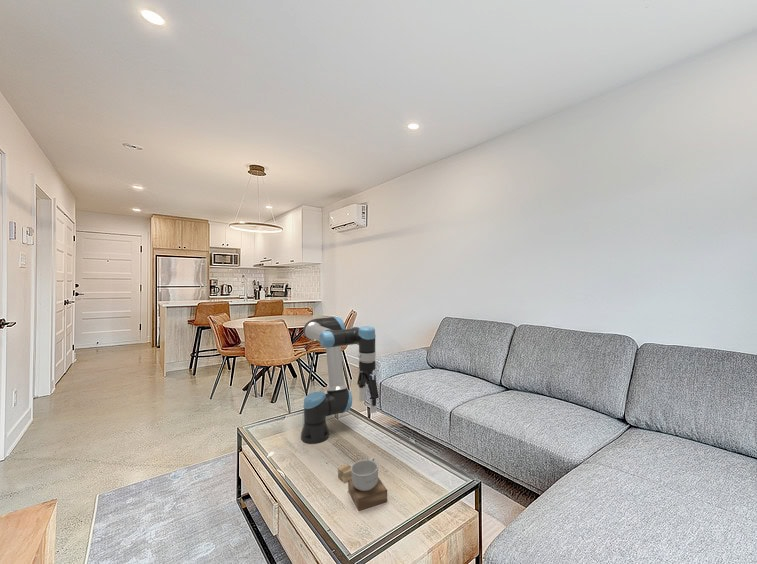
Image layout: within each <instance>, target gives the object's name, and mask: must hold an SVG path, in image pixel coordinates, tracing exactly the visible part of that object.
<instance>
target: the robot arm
mask: <svg viewBox="0 0 757 564" xmlns="http://www.w3.org/2000/svg"><path fill="white" fill-rule="evenodd" d="M302 332H303V334H304V336H305V337H306V338H307V339H309V340H314V341H318V342H319V344H320V346H321V347H322V348H324V349H325V353H326V365H327V373H328V375H327V376H328V385H329V386H328V388H327V389H326V393H325V392H324V391H313V392H310V393H309V394H307V395H306V396H305V397H304V398H303V399H304V400H303V405H302V407H303V427H302V428H301V432H300V440H301V441H302V442H303V443H306V444H310V445H312V444H314V445H315V444H321V443H322V442H325V441H326V440H328V439H329V437H330V430H329V427H328V423H327V421H326V419H327V418H326V417H329V416H330V417H331V416H333V415H338V414H343V413H346V412H349V411H350V409H351V408H352V406H353V405H352V404H353V395H352V392H351V390H350V389H348V386H347V385H346V384H345V378H344V368H343V357H342V346H344V347H345V346H350V345H351V346H352V345H358V355H357V357H358V359H359V362H358V369H359V373H358V378H357V383H356V384H357V385H358V388H359V391H358V392H359V393H358V397H359V398H358V400H359V402H361V403H362V402H366V385H367V387H368V392H369V395H370V397H369V408H370V409H369V413H370V414H374V413H377V399H379V398H380V396H379V391H378V385H377V377H376V374H373V371H375V369H376V359H377V358H376V329H375V327H373V326H360V327H357V326H351V327H350V328H346V325H345V323H344V321H343V319H342V318H341V317H339V316H337V317H336V316H331V317H322V318H321V317H320V318H313V319H310V320H309V321H307V322H306V323H305V324H304V326H303V331H302Z"/></svg>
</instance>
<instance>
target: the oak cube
mask: <svg viewBox="0 0 757 564" xmlns="http://www.w3.org/2000/svg"><path fill="white" fill-rule="evenodd" d="M351 466H352V465H350V464H349V463H346V464H344V465H342V466H339V467H338V468H337V476H338V479H339V480H340V481H341V482H342V483H344V484H346V483H347V482H348V480H350V479H352V475H351Z"/></svg>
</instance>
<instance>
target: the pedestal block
mask: <svg viewBox="0 0 757 564" xmlns="http://www.w3.org/2000/svg"><path fill="white" fill-rule="evenodd" d="M347 487H348V488H347V490H348V492H349V494H350V496H351V498H352V500H353V502H354V504H355V506H356V508H357V510H358V512H359V511H362V510H365V509H368V508H371V507H374V506H377V505H380V504H383V503H386V502H387V500H388V489H387V488H386V486H385V485H384V483H383V482H382V480H381V479H380V477H379V476H378V482H377V484H376V485H375V487H373V488H372V489H371V490H369V491H360V490H359V489H357V488H355V486H354V485H353V482H352V479H350V480H348V483H347ZM371 509H372V508H371ZM368 510H369V509H368ZM365 511H366V510H365ZM362 512H363V511H362ZM359 513H360V512H359Z"/></svg>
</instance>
